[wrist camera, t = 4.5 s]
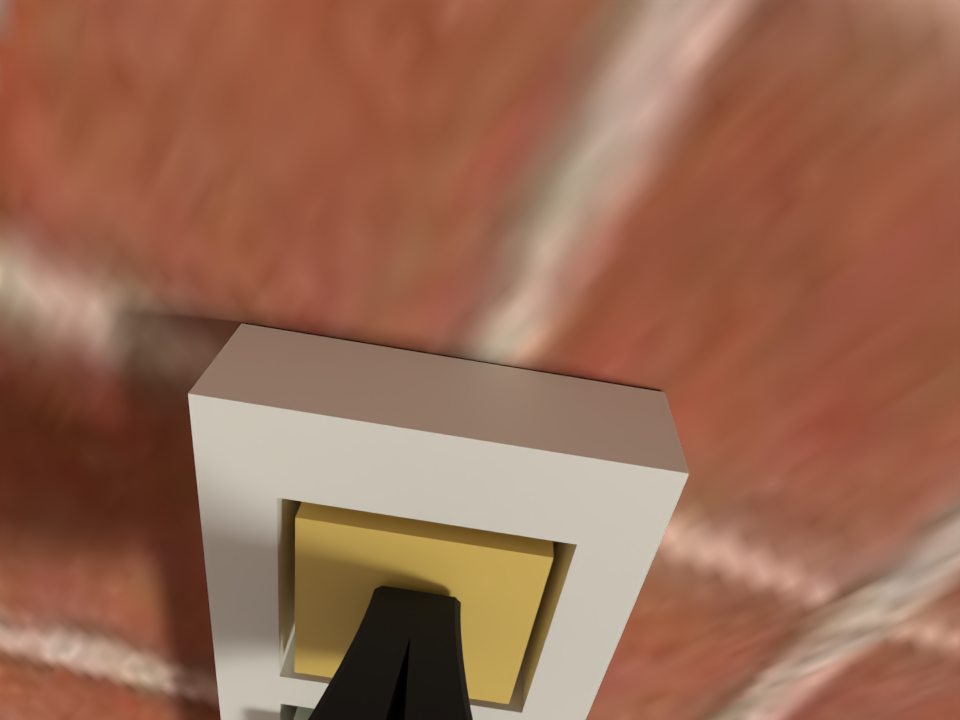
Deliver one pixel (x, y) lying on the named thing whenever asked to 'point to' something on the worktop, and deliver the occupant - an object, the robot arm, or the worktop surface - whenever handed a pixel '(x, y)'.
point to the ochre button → (416, 587)
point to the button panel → (424, 496)
